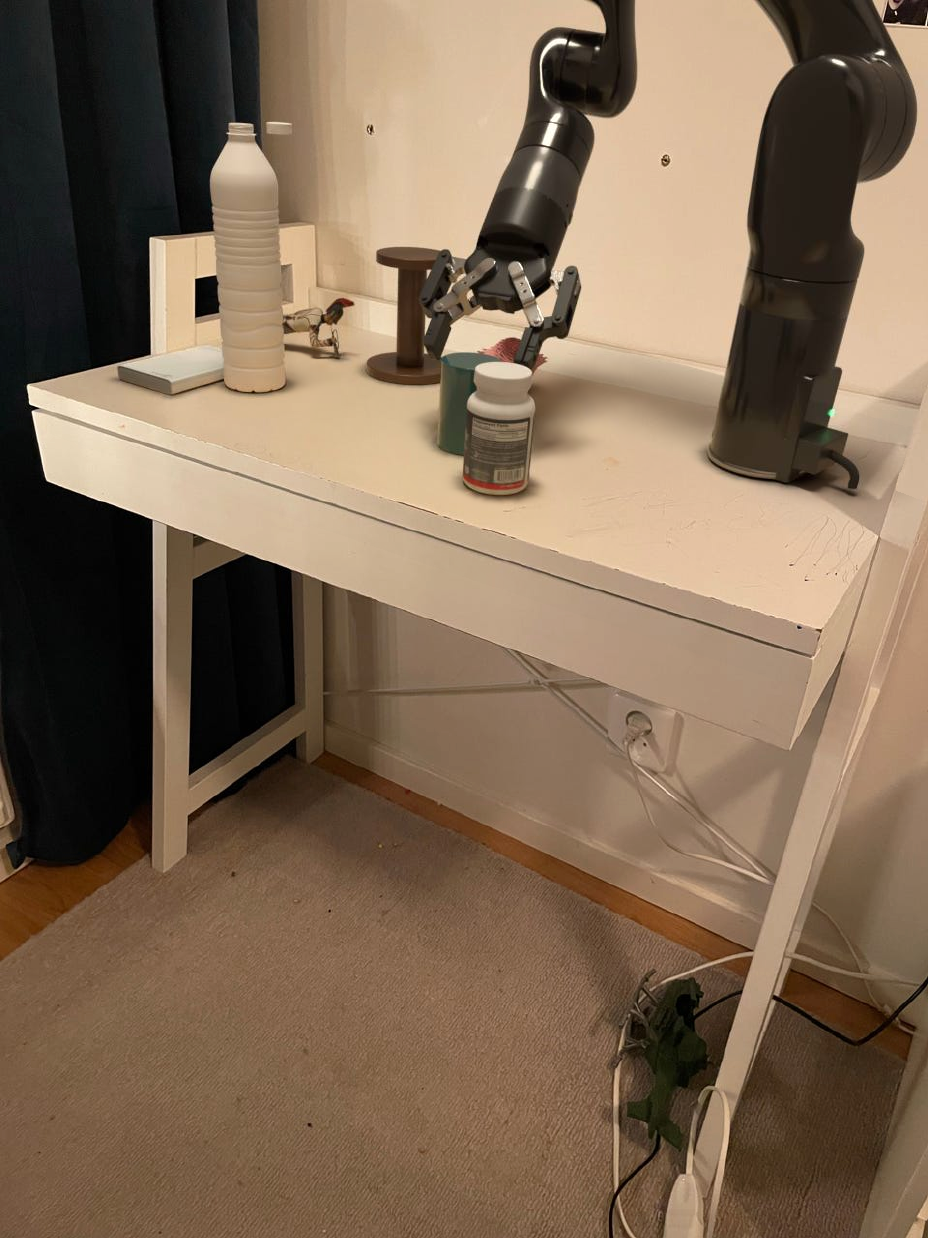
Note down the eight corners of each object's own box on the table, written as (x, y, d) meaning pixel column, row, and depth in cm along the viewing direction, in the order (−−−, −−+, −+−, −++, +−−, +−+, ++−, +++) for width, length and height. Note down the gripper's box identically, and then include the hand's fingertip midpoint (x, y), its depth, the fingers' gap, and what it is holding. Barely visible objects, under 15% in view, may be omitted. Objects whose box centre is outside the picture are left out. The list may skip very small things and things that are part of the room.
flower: (558, 391, 105) (564, 341, 102) (509, 403, 100) (513, 351, 97) (508, 373, 109) (512, 325, 107) (459, 384, 104) (461, 334, 102)
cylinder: (508, 447, 88) (515, 362, 84) (467, 460, 85) (472, 372, 80) (466, 430, 91) (471, 348, 87) (424, 442, 88) (428, 357, 84)
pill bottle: (477, 466, 83) (484, 355, 78) (537, 479, 82) (548, 366, 76) (451, 488, 79) (458, 372, 74) (514, 502, 77) (525, 384, 72)
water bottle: (245, 396, 96) (228, 124, 84) (212, 381, 100) (192, 118, 88) (314, 383, 102) (309, 125, 89) (281, 369, 106) (271, 120, 93)
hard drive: (171, 380, 94) (256, 356, 104) (116, 364, 98) (203, 342, 107) (172, 396, 95) (257, 370, 105) (118, 379, 99) (204, 356, 108)
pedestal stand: (470, 375, 108) (478, 256, 101) (407, 390, 102) (411, 265, 95) (411, 355, 114) (415, 242, 107) (348, 368, 107) (347, 249, 101)
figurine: (251, 372, 115) (360, 356, 110) (233, 354, 112) (345, 336, 106) (258, 332, 117) (366, 313, 112) (241, 312, 113) (351, 292, 108)
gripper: (450, 177, 86) (391, 327, 83) (598, 191, 81) (541, 351, 78) (470, 232, 93) (416, 372, 89) (607, 248, 88) (555, 397, 85)
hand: (474, 362), depth 84 cm, fingers open, 8 cm apart
